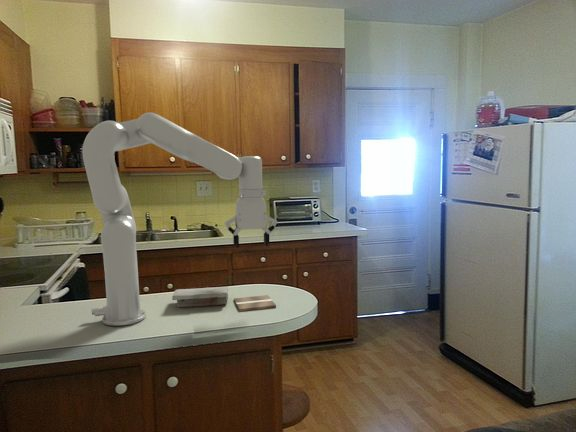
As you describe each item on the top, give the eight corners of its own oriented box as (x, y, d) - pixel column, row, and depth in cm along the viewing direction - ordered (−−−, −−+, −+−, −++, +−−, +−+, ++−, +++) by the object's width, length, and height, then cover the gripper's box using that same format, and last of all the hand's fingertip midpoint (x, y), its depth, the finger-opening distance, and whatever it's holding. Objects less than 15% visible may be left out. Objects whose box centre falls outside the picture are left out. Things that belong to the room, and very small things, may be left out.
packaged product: (228, 306, 146) (228, 299, 155) (227, 292, 145) (227, 286, 155) (172, 310, 143) (175, 302, 153) (171, 295, 143) (175, 288, 153)
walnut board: (239, 311, 141) (239, 308, 141) (233, 300, 153) (233, 298, 153) (276, 307, 144) (275, 305, 144) (267, 297, 156) (267, 294, 156)
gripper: (274, 193, 150) (274, 243, 152) (222, 194, 146) (223, 245, 148) (279, 194, 143) (279, 246, 145) (225, 195, 139) (226, 249, 140)
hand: (251, 246), depth 146 cm, fingers open, 9 cm apart
